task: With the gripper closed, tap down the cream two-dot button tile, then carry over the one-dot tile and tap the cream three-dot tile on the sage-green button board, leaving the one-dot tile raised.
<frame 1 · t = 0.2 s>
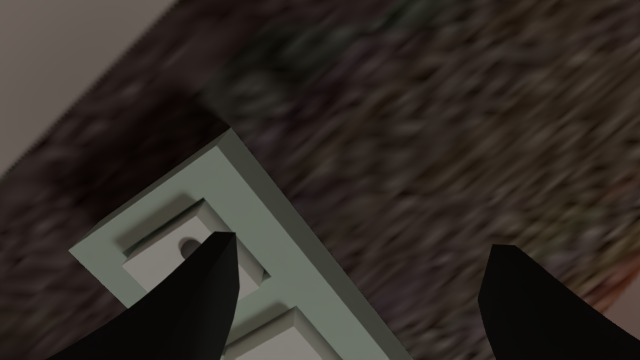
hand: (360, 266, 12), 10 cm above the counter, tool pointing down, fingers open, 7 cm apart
tile two pips: (196, 265, 20), point 3 cm above the counter, slide at 0.0 cm
button board: (290, 321, 25), on the counter
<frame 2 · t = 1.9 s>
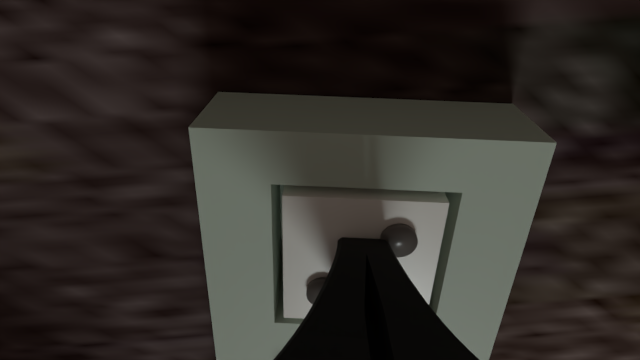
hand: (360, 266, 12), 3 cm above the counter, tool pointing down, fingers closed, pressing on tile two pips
tile two pips: (358, 246, 13), point 2 cm above the counter, slide at 0.9 cm, touching gripper
button board: (344, 348, 18), on the counter
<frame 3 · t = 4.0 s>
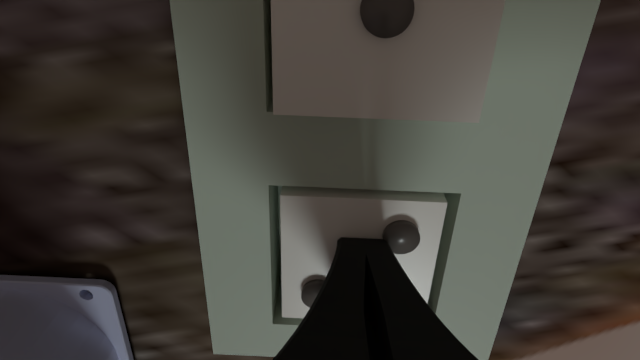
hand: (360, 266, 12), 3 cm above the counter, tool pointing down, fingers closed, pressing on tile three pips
tile one pip: (381, 3, 9), point 3 cm above the counter, slide at 0.0 cm
tile three pips: (356, 245, 13), point 2 cm above the counter, slide at 1.0 cm, touching button board, gripper
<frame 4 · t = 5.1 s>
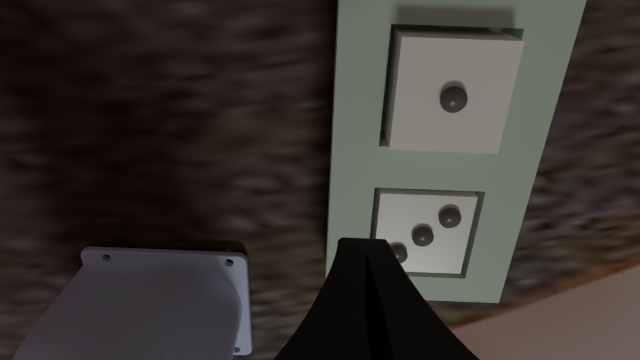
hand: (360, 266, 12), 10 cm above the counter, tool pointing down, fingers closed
tile one pip: (447, 92, 17), point 3 cm above the counter, slide at 0.0 cm
button board: (431, 73, 20), on the counter
tile three pips: (419, 225, 21), point 2 cm above the counter, slide at 1.0 cm
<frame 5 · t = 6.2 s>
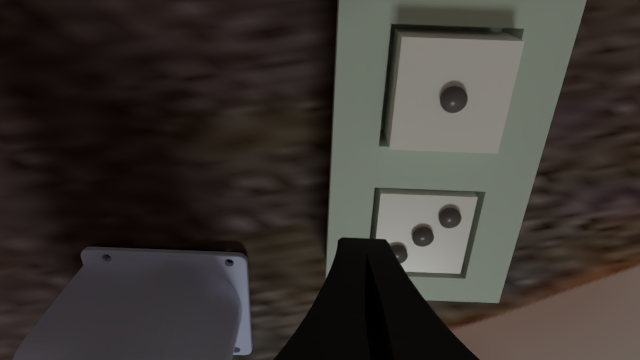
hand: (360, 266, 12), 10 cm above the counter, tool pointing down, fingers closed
tile one pip: (447, 92, 17), point 3 cm above the counter, slide at 0.0 cm
button board: (431, 73, 20), on the counter
tile three pips: (419, 225, 21), point 2 cm above the counter, slide at 1.0 cm
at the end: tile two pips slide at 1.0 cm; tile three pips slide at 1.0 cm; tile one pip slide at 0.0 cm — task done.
